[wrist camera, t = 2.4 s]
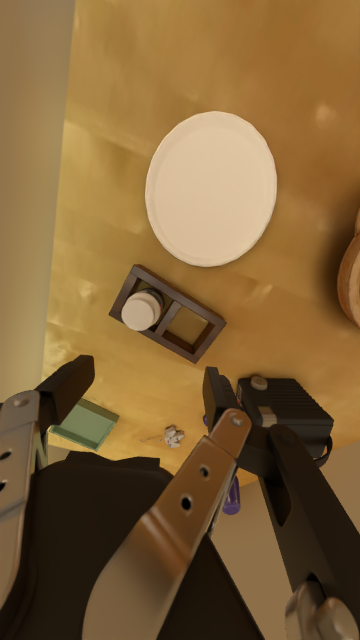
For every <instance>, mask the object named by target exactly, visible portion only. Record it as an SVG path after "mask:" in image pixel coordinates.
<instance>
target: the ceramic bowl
mask: <svg viewBox="0 0 360 640" xmlns="http://www.w3.org/2000/svg"><path fill="white" fill-rule="evenodd" d="M337 293H338V299H339V302H340V304H341V307H342V309H343V311H344V312H345V314H346V315H347V317H348V318H349V319H350V320H351V321H352V322H353V323H354V324H355V325H356V326H357V327H359V328H360V208H359V210H358V213H357V216H356V221H355V237H354V238H353V239H352V241H351V243H350V245H349V246H348V248H347V250H346V252H345V254H344V256H343V259H342V261H341V264H340V268H339V272H338V276H337Z"/></svg>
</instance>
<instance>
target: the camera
mask: <svg viewBox="0 0 360 640" xmlns="http://www.w3.org/2000/svg"><path fill="white" fill-rule="evenodd" d="M236 399H237V402H238V404H239V407H240V409H241V411H243V412H244V413H245V414H246V415H247V416H248V417H249V418H250V420H251V422H252V423H254V424H256V425H259V426H261V427H264V428H267V429H270V426H271V425H273V424H282V425H285V426H287V427H289V428H290V429H292V430H293V431H294V432H295V433H296V434H297V435H298V436H299V437H300V438H301V440H302V442H303V443H304V445H305V446H306V448H307V450H308V451H309V453H310V455H311V456H312V458H318V459H315V460H314V461H315V463H316V464H317V466H318V468H319V467H321V466H322V465H324V464H325V463H326V461H327V460H328V457H329V454H330V452H331V449H332V438H331V436H330V433H331V430H332V427H333V422H334V419H333V418H332V417H331V416H330V415H329V414H328V413H327V412H326V411H324V410H323V409H322V407H320V406H319V404H318V403H316V402H315V400H314V399H312V397H311V396H309V394H308V393H307V392H306V390H304V389H303V387H301V386H300V384H299V383H298V382H297V381H296V380H295V379H264V378H262V377H258V376H255V377H253V378H252V379H240V380H239V381H238V388H237V397H236ZM325 446H327V453H326V454H325V455H323V456H322V454H323V451H324V449H325ZM321 456H322V457H321Z"/></svg>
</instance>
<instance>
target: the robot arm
mask: <svg viewBox="0 0 360 640" xmlns="http://www.w3.org/2000/svg"><path fill="white" fill-rule="evenodd" d="M94 378H95V369H94V358H93V356H90V355H79V356H78V357H77V358H76V359H75V360H74V361H70V362H68V363H66V364H64V365H63V366H61V367H60V368H59V369H58V370H57V371H55V372H54V373H53V374H52V376H49V377H48V378H47V379H46V380H45V381H43V382H42V383H41V384H40V385H39V386H37V388H35V389H34V390H29V391H24V392H20V393H18V394H16V395H13V396H12V397H10V398H8V399H7V400H6V401H5V402H4V403H0V640H265V638H264V636H263V635H262V633H261V631H260V629H259V627H258V625H257V624H256V622H255V620H254V618H253V616H252V614H251V612H250V611H249V609H248V607H247V605H246V603H245V601H244V600H243V598H242V596H241V594H240V592H239V590H238V588H237V587H236V585H235V583H234V581H233V579H232V578H231V576H230V574H229V572H228V570H227V568H226V566H225V564H224V563H223V561H222V559H221V557H220V555H219V553H218V552H217V550H216V548H215V546H214V544H213V542H212V541H211V537H212V535H213V532H214V530H215V527H216V525H217V522H218V520H219V517H220V514H221V511H222V509H223V506H224V503H225V500H226V498H227V495H228V493H229V490H230V488H231V485H232V483H233V481H234V478H235V476H236V473H237V471H238V468H239V467H240V468H242V469H244V470H246V471H248V472H251V473H253V474H255V475H257V476H258V479H259V482H260V486H261V489H262V492H263V496H264V499H265V502H266V506H267V508H268V512H269V515H270V519H271V522H272V525H273V529H274V532H275V535H276V539H277V542H278V545H279V549H280V552H281V555H282V559H283V562H284V565H285V568H286V571H287V575H288V578H289V582H290V585H291V588H292V592H293V595H292V597H291V598H290V600H289V601H288V603H287V605H286V609H285V630H286V635H287V640H360V534H359V532H358V531H357V529H356V528H355V526H354V524H353V523H352V521H351V520H350V518H349V516H348V515H347V513H346V511H345V510H344V508H343V506H342V505H341V503H340V502H339V500H338V498H337V497H336V495H335V494H334V492H333V490H332V489H331V487H330V486H329V484H328V482H327V481H326V479H325V477H324V476H323V474H322V472H321V471H320V469H319V468H318V466H317V464H316V463H315V461H314V459H313V458H312V456H311V455H310V453H309V451H308V450H307V448H306V446H305V445H304V443H303V442H302V440H301V438H300V437H299V436H298V435H297V434H296V433H295V432H294V431H293V430H292V429H290V428H289V427H287V426H285V425H282V424H273V425H271V426H270V429H267V428H264V427H261V426H259V425H256V424H254V423H252V422H251V420H250V418H249V417H248V416H247V415H246V414H245V413H244V412H243V411H241V409H240V407H239V404H238V402H237V399H236V397H235V394H234V392H233V389H232V387H231V384H230V381H229V380H228V379H227V378H226V377H225V376H224V375H219V372H218V369H217V367H208V366H206V369H205V374H204V381H203V399H204V406H205V412H206V419H207V426H208V432H209V435H208V436H206V435H204V436H203V437H202V438H201V439H200V441H199V442H198V443H197V445H196V446H195V448H194V449H193V451H192V452H191V453H190V455H189V456H188V458H187V459H186V460H185V462H184V463H183V465H182V466H181V467H180V469H179V470H178V472H177V473H176V474H175V476H173V475H172V474H171V473H170V472H169V471H167V470H165V469H164V468H161V467H159V465H160V458H151V457H139V456H138V457H133V458H127V459H122V460H117V461H111V460H109V459H106V458H104V457H102V456H99V455H97V454H95V453H92V452H80V451H70V453H69V454H68V456H67V457H66V459H65V460H62V461H58V462H55V463H53V464H50V465H48V431H47V429H48V428H49V427H50V425H57V426H60V425H61V424H62V422H63V421H64V420H65V418H66V417H67V416H68V414H69V413H70V412H71V410H72V409H73V408H74V407H75V405H76V404H77V403H78V401H79V400H80V399H81V397H82V396H83V395H84V394H85V392H86V391H87V390H88V388H89V387H90V386H91V384H92V383H93V381H94Z"/></svg>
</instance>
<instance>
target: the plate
mask: <svg viewBox="0 0 360 640" xmlns="http://www.w3.org/2000/svg"><path fill="white" fill-rule="evenodd" d="M276 192H277V175H276V169H275V164H274V158H273V156H272V154H271V152H270V149H269V147H268V145H267V143H266V141H265V139H264V138H263V137H262V136H261V134H260V133H259V132H258V131H257V130H256V129H255V128H254V126H253V125H252V124H250V123H249V122H247V121H245V120H243V119H242V118H240V117H238V116H237V115H235V114H230V113H224V112H219V111H212V112H206V113H201V114H196V115H194V116H192V117H190V118H188V119H186V120H185V121H183V122H181V123H179V124H178V125H177V126H176V127H175V128H174V129H173V130H172V131H171V132H170V133H169V134H168V135H167V136H166V137H165V138H164V139H163V140H162V142H161V144H160V145H159V147H158V149H157V150H156V152H155V154H154V156H153V157H152V160H151V164H150V167H149V171H148V174H147V177H146V191H145V202H146V208H147V214H148V219H149V221H150V224H151V226H152V229H153V231H154V234H155V235H156V237H157V238H158V240H159V241H160V242H161V244H162V245H163V247H164V248H165V249H166V250H167V251H169V252H170V253H171V254H172V255H173V256H175V257H176V258H177V259H179V260H181V261H183V262H186V263H188V264H190V265H194V266H201V267H213V266H221V265H224V264H226V263H229V262H231V261H233V260H236V259H237V258H239V257H240V256H242V255H243V254H244V253H246V252H247V251H248V250H250V249H251V248H252V246H253V245H254V244H255V243H256V242H257V241H258V239H259V238H260V237H261V236H262V234H263V232H264V230H265V228H266V227H267V225H268V223H269V221H270V219H271V216H272V212H273V209H274V205H275V201H276Z"/></svg>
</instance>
